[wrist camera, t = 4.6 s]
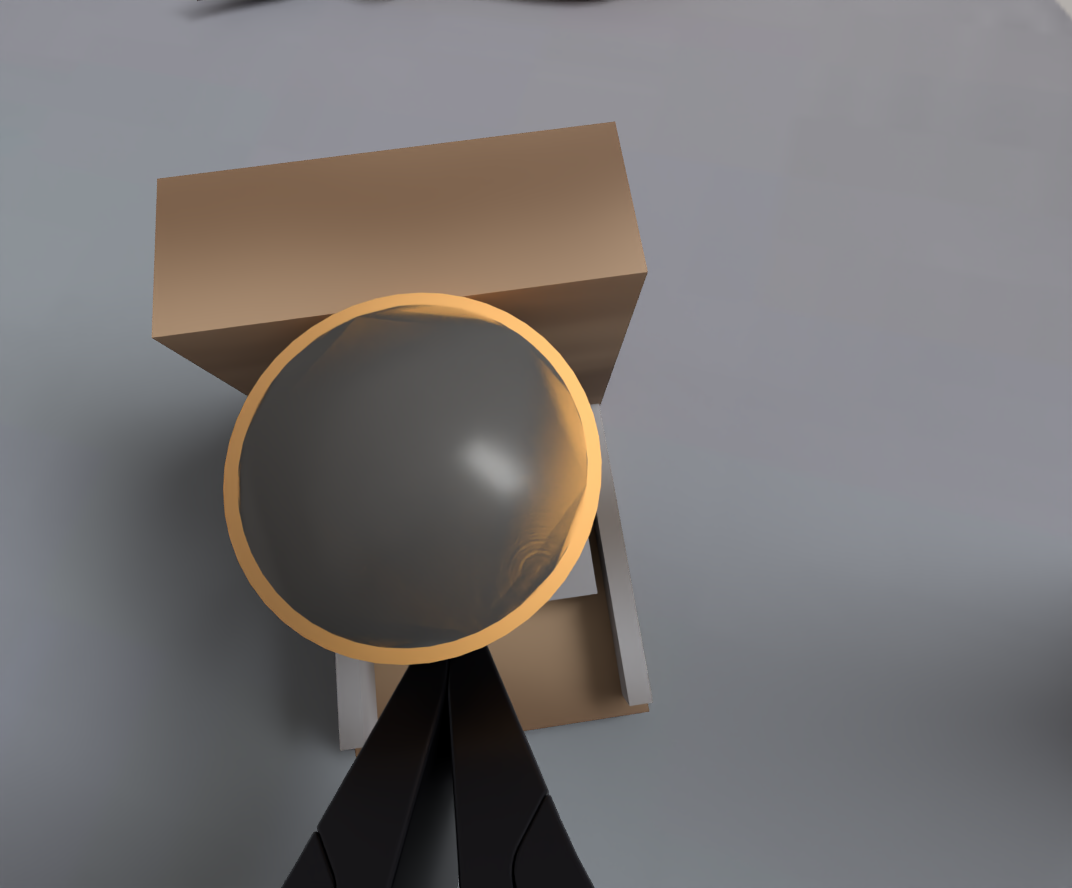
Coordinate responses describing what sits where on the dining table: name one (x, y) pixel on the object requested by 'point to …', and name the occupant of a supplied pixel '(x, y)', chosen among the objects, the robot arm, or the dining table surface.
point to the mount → (447, 268)
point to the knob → (414, 479)
